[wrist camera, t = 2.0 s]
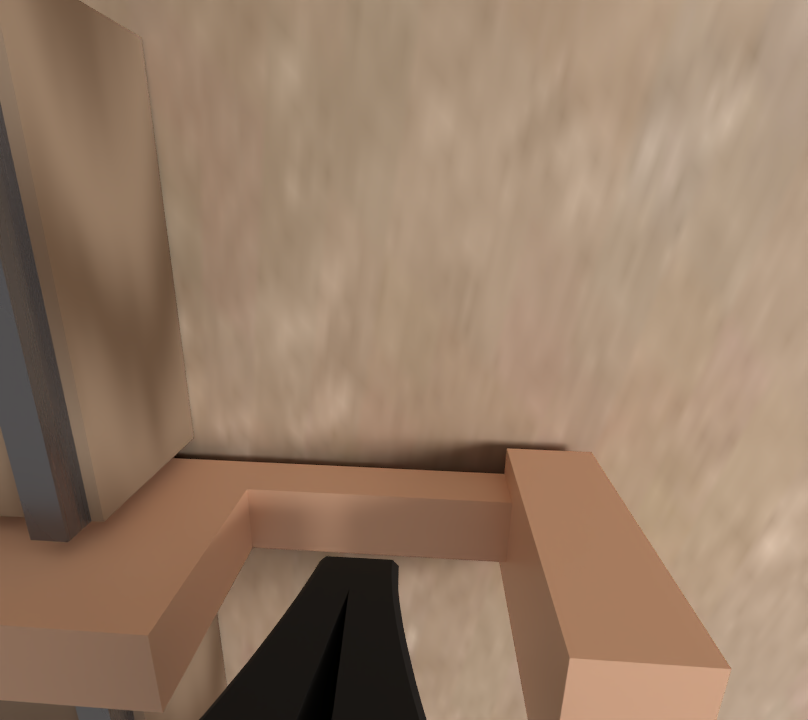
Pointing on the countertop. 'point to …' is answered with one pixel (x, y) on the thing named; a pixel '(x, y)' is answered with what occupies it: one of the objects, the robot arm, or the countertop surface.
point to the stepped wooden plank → (363, 534)
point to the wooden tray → (85, 299)
